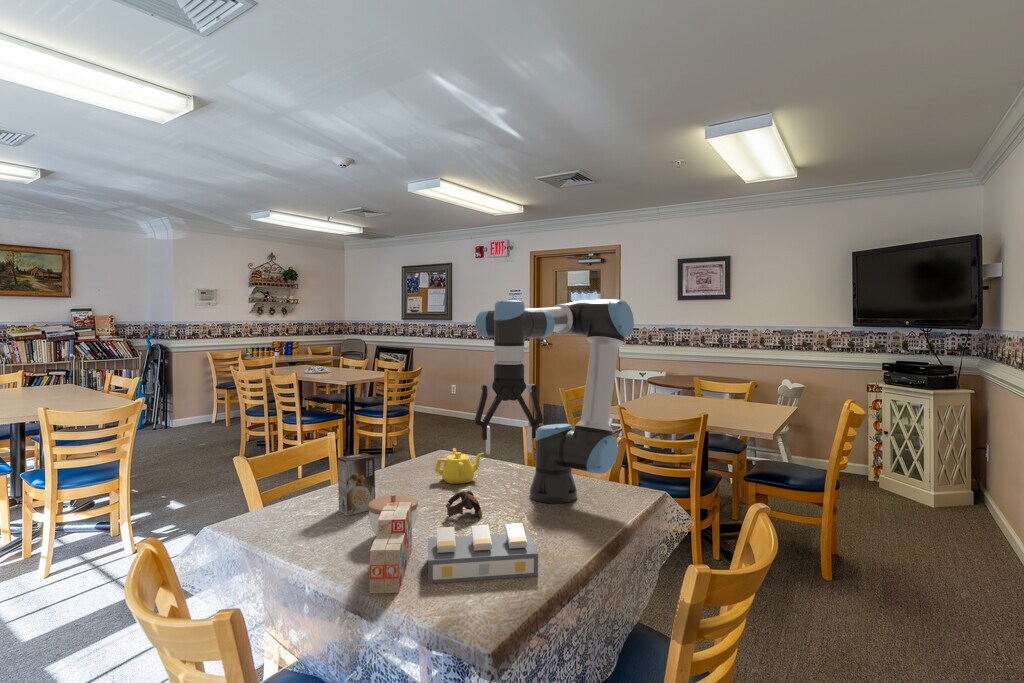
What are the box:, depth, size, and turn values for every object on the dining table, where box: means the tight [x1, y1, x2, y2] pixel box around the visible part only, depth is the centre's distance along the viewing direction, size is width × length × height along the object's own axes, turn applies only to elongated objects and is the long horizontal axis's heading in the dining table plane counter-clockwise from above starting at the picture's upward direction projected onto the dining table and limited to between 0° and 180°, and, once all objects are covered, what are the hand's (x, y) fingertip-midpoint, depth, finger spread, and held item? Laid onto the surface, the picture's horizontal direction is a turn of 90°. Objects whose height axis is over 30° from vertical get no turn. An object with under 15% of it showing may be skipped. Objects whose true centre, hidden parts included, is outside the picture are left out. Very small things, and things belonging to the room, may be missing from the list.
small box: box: [504, 522, 527, 548], centre depth 124 cm, size 4×7×2 cm, turn 9°
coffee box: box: [337, 452, 376, 517], centre depth 160 cm, size 9×6×16 cm
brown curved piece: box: [445, 490, 483, 520], centre depth 156 cm, size 12×10×8 cm
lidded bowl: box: [368, 493, 419, 536], centre depth 140 cm, size 13×13×11 cm
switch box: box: [427, 532, 539, 584], centre depth 123 cm, size 24×12×6 cm, turn 99°
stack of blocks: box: [368, 502, 413, 594], centre depth 121 cm, size 21×6×12 cm, turn 4°
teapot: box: [434, 447, 485, 485], centre depth 191 cm, size 14×13×10 cm
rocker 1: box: [436, 526, 456, 553], centre depth 121 cm, size 4×7×2 cm, turn 9°
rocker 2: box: [470, 524, 492, 551], centre depth 122 cm, size 4×7×2 cm, turn 9°
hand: (508, 452), depth 134 cm, fingers open, 10 cm apart
